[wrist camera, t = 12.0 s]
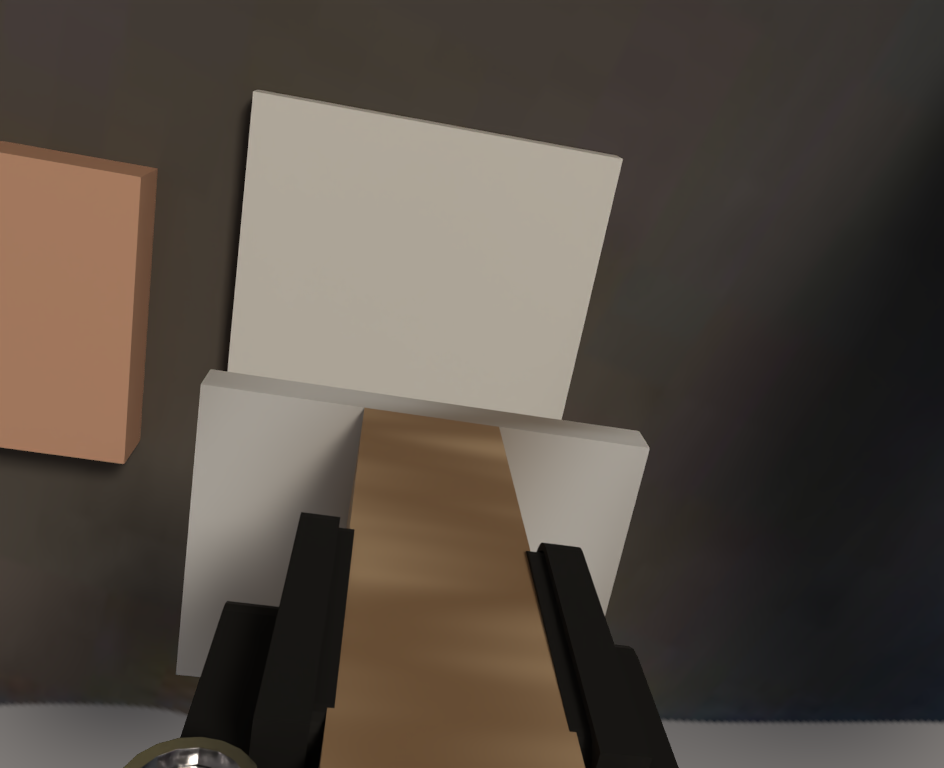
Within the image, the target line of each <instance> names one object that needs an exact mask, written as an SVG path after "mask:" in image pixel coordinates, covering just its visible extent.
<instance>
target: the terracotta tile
mask: <svg viewBox="0 0 944 768" xmlns="http://www.w3.org/2000/svg"><path fill="white" fill-rule="evenodd" d="M157 170H158V169H157V168H151V167H145V166H140V165H134V164H129V163H123V162H117V161H112V160H106V159H100V158H95V157H89V156H83V155H78V154H72V153H66V152H61V151H55V150H50V149H44V148H38V147H33V146H27V145H21V144H16V143H10V142H4V141H0V447H1V448H9V449H16V450H23V451H31V452H38V453H46V454H53V455H60V456H68V457H75V458H83V459H90V460H97V461H105V462H112V463H120V464H125V462H126V461H127V459H128V458H129V456H130V455H131V453H132V452H133V450H134V449H135V447H136V446H137V444H138V443H139V441H140V431H141V416H142V401H143V385H144V370H145V354H146V339H147V324H148V308H149V293H150V277H151V262H152V247H153V231H154V216H155V200H156V185H157Z"/></svg>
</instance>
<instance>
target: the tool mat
mask: <svg viewBox="0 0 944 768" xmlns="http://www.w3.org/2000/svg"><path fill="white" fill-rule="evenodd" d="M622 160H623V159H622V158H620V157H618V156H616V155H611V154H606V153H600V152H595V151H589V150H584V149H578V148H573V147H568V146H562V145H557V144H551V143H546V142H540V141H535V140H529V139H524V138H519V137H513V136H508V135H502V134H497V133H491V132H486V131H481V130H475V129H470V128H464V127H459V126H453V125H448V124H442V123H437V122H432V121H426V120H421V119H415V118H410V117H404V116H399V115H393V114H388V113H383V112H377V111H372V110H366V109H361V108H355V107H350V106H344V105H339V104H334V103H328V102H323V101H317V100H312V99H306V98H301V97H296V96H290V95H285V94H279V93H274V92H268V91H263V90H256V91H253V99H252V110H251V121H250V132H249V142H248V153H247V164H246V175H245V186H244V197H243V208H242V218H241V229H240V240H239V251H238V262H237V273H236V284H235V294H234V305H233V316H232V327H231V338H230V349H229V360H228V371H227V372H233V373H240V374H247V375H254V376H261V377H268V378H275V379H282V380H289V381H296V382H303V383H309V384H316V385H323V386H330V387H337V388H344V389H351V390H358V391H365V392H372V393H379V394H386V395H392V396H399V397H406V398H413V399H420V400H427V401H434V402H441V403H448V404H455V405H462V406H469V407H475V408H482V409H489V410H496V411H503V412H510V413H517V414H524V415H531V416H538V417H545V418H552V419H558V420H562V415H563V411H564V407H565V403H566V398H567V394H568V390H569V385H570V381H571V377H572V373H573V368H574V364H575V360H576V356H577V351H578V347H579V343H580V339H581V334H582V330H583V326H584V322H585V317H586V313H587V309H588V305H589V300H590V296H591V292H592V288H593V283H594V279H595V275H596V271H597V266H598V262H599V258H600V254H601V249H602V245H603V241H604V237H605V232H606V228H607V224H608V220H609V215H610V211H611V207H612V203H613V198H614V194H615V190H616V186H617V181H618V177H619V173H620V169H621V164H622Z"/></svg>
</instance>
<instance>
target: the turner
mask: <svg viewBox="0 0 944 768" xmlns="http://www.w3.org/2000/svg"><path fill="white" fill-rule="evenodd" d="M649 449H650V448H649V446H648V445H647V443H646V441H645V440H644V438H643V437H642V435H641V433H640V432H639V431H635V430H628V429H621V428H614V427H607V426H600V425H593V424H586V423H579V422H572V421H565V420H558V419H552V418H545V417H538V416H531V415H524V414H517V413H510V412H503V411H496V410H489V409H482V408H475V407H469V406H462V405H455V404H448V403H441V402H434V401H427V400H420V399H413V398H406V397H399V396H392V395H386V394H379V393H372V392H365V391H358V390H351V389H344V388H337V387H330V386H323V385H316V384H309V383H303V382H296V381H289V380H282V379H275V378H268V377H261V376H254V375H247V374H240V373H233V372H226V371H220V370H213V369H210V371H209V372H208V374H207V376H206V377H205V379H204V380H203V382H202V383H201V389H200V401H199V412H198V424H197V435H196V447H195V459H194V470H193V482H192V493H191V505H190V517H189V528H188V540H187V551H186V563H185V575H184V586H183V598H182V609H181V621H180V633H179V644H178V656H177V668H176V675H185V676H195V677H201V674H202V671H203V668H204V665H205V662H206V659H207V655H208V652H209V649H210V646H211V643H212V640H213V637H214V634H215V631H216V628H217V625H218V622H219V619H220V616H221V613H222V610H223V608H224V605H225V603H226V602H227V601H233V602H242V603H250V604H259V605H268V606H277V607H279V605H280V601H281V596H282V592H283V588H284V583H285V579H286V575H287V570H288V566H289V562H290V557H291V553H292V549H293V544H294V540H295V536H296V531H297V527H298V523H299V518H300V514H301V512H305V513H313V514H321V515H329V516H337V517H340V524H339V527H340V528H348V529H355V531H354V540H353V549H352V558H351V566H350V575H349V584H348V593H347V602H346V611H345V619H344V628H343V637H342V646H341V655H340V664H339V672H338V681H337V690H336V699H335V708H327V714H326V721H325V728H324V735H323V742H322V749H321V755H320V762H319V768H585V765H584V761H583V757H582V753H581V749H580V745H579V741H578V737H577V733H576V732H570V731H569V727H568V723H567V719H566V715H565V711H564V707H563V702H562V698H561V694H560V690H559V686H558V682H557V678H556V674H555V669H554V665H553V661H552V657H551V653H550V649H549V645H548V641H547V636H546V632H545V628H544V624H543V620H542V616H541V612H540V608H539V603H538V599H537V595H536V591H535V587H534V583H533V579H532V575H531V570H530V566H529V562H528V558H527V554H526V551H532V552H537V549H538V547H539V545H540V544H541V543H542V542H543V543H550V544H558V545H566V546H574V547H580V548H581V549H582V551H583V554H584V557H585V560H586V562H587V565H588V568H589V571H590V574H591V577H592V580H593V583H594V586H595V589H596V592H597V595H598V598H599V601H600V604H601V607H602V610H603V613H604V616H605V614H606V610H607V607H608V603H609V599H610V595H611V592H612V588H613V584H614V580H615V577H616V573H617V569H618V565H619V562H620V558H621V554H622V550H623V547H624V543H625V539H626V535H627V532H628V528H629V524H630V520H631V517H632V513H633V509H634V505H635V502H636V498H637V494H638V490H639V487H640V483H641V479H642V475H643V472H644V468H645V464H646V460H647V457H648V453H649Z"/></svg>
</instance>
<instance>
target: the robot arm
mask: <svg viewBox="0 0 944 768" xmlns="http://www.w3.org/2000/svg"><path fill="white" fill-rule="evenodd" d="M339 524H340V517H337V516H329V515H321V514H313V513H305V512H301V514H300V518H299V523H298V527H297V531H296V536H295V540H294V544H293V549H292V553H291V557H290V562H289V566H288V570H287V575H286V579H285V583H284V588H283V592H282V596H281V601H280V605H279V607H277V606H268V605H259V604H250V603H242V602H233V601H227V602H226V603H225V605H224V608H223V610H222V613H221V616H220V619H219V622H218V625H217V628H216V631H215V634H214V637H213V640H212V643H211V646H210V649H209V652H208V655H207V659H206V662H205V665H204V668H203V671H202V674H201V677H200V680H199V683H198V686H197V689H196V692H195V695H194V698H193V701H192V704H191V707H190V710H189V713H188V716H187V719H186V722H185V725H184V728H183V731H182V734H181V737H180V738H177V739H173V740H170V741H166V742H162V743H159V744H156V745H154V746H152V747H150V748H149V749H147V750H145V751H143V752H141V753H139V754H137V755H136V756H135V757H134V758H133V759H132V760H131V761H130V762H129V763H128V764H127V765H126V766H125V767H124V768H319V762H320V755H321V749H322V742H323V735H324V728H325V721H326V714H327V708H335V699H336V690H337V681H338V672H339V664H340V655H341V646H342V637H343V628H344V619H345V611H346V602H347V593H348V584H349V575H350V566H351V558H352V549H353V540H354V531H355V529H348V528H340V527H339ZM526 554H527V558H528V562H529V566H530V570H531V575H532V579H533V583H534V587H535V591H536V595H537V599H538V603H539V608H540V612H541V616H542V620H543V624H544V628H545V632H546V636H547V641H548V645H549V649H550V653H551V657H552V661H553V665H554V669H555V674H556V678H557V682H558V686H559V690H560V694H561V698H562V702H563V707H564V711H565V715H566V719H567V723H568V727H569V731H570V732H576V733H577V737H578V741H579V745H580V749H581V753H582V757H583V761H584V765H585V768H678V765H677V762H676V760H675V757H674V754H673V752H672V749H671V746H670V743H669V741H668V738H667V735H666V733H665V730H664V727H663V724H662V722H661V719H660V716H659V714H658V711H657V708H656V705H655V703H654V700H653V697H652V695H651V692H650V689H649V686H648V684H647V681H646V678H645V676H644V673H643V670H642V667H641V665H640V662H639V659H638V657H637V655H636V653H635V651H634V649H632V648H631V647H629V646H622V645H614V642H613V639H612V636H611V634H610V631H609V628H608V625H607V622H606V619H605V616H604V613H603V610H602V607H601V604H600V601H599V598H598V595H597V592H596V589H595V586H594V583H593V580H592V577H591V574H590V571H589V568H588V565H587V562H586V560H585V557H584V554H583V551H582V549H581V548H580V547H574V546H566V545H558V544H550V543H543V542H542V543H541V544H540V545H539V547H538V549H537V552H532V551H526Z"/></svg>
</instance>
